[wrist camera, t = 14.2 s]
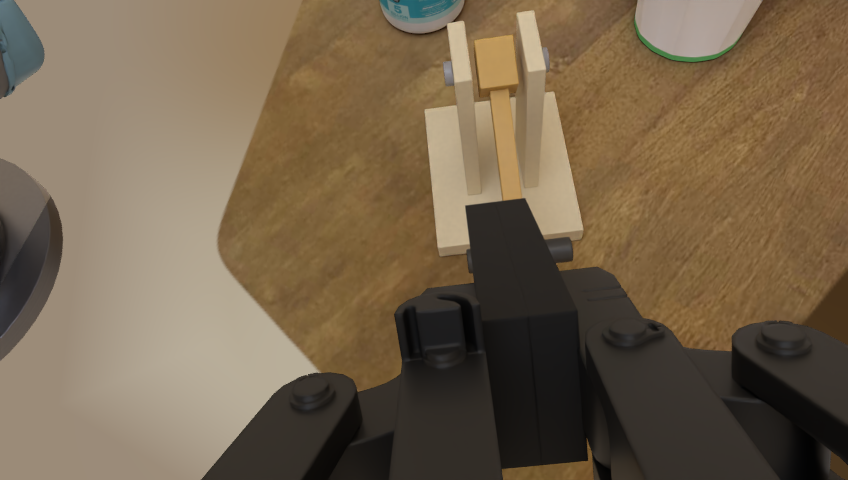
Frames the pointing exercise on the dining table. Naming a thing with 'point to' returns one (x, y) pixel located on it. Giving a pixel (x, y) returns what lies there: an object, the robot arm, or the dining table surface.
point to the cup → (692, 26)
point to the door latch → (476, 153)
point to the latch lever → (506, 123)
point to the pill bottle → (421, 14)
